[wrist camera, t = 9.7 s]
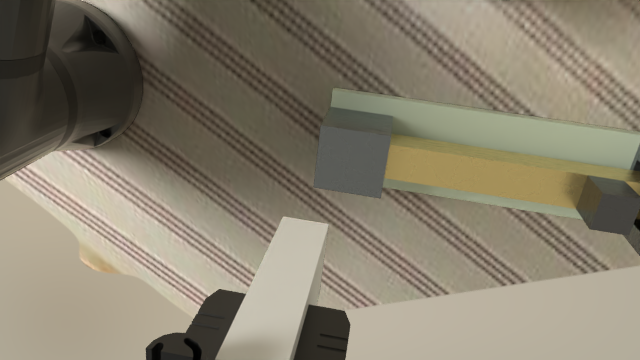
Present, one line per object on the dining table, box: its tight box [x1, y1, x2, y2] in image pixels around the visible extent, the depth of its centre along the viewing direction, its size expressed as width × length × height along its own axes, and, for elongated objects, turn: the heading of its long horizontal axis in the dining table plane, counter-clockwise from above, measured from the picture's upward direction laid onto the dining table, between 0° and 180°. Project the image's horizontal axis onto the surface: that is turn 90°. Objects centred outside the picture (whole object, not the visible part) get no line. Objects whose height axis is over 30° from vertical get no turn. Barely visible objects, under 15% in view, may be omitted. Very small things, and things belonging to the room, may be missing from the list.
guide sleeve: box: [314, 107, 393, 198], centre depth 47 cm, size 6×6×6 cm
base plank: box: [331, 87, 640, 220], centre depth 49 cm, size 33×9×1 cm, turn 83°
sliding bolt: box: [384, 134, 640, 235], centre depth 44 cm, size 28×3×7 cm, turn 83°
